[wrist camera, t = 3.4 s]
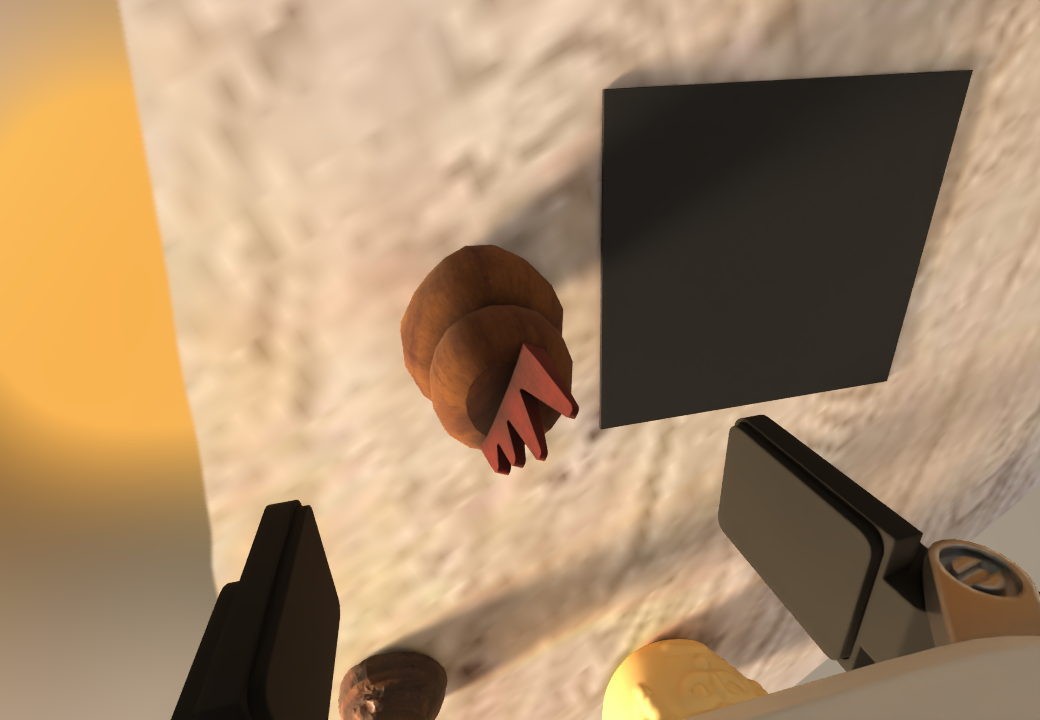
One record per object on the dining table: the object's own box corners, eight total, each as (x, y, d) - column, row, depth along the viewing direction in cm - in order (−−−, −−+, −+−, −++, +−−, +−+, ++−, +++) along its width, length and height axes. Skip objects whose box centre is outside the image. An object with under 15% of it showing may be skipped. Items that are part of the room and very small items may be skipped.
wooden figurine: (471, 206, 24) (559, 298, 10) (554, 285, 26) (713, 443, 13) (379, 311, 25) (348, 519, 11) (466, 377, 27) (528, 614, 14)
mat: (969, 70, 26) (972, 70, 26) (884, 380, 34) (887, 381, 33) (602, 89, 23) (604, 89, 23) (599, 427, 30) (600, 429, 30)
